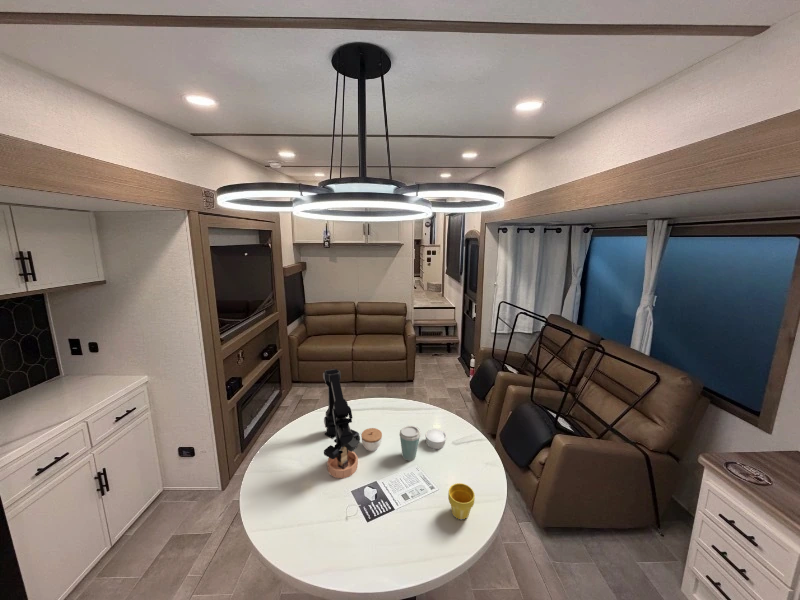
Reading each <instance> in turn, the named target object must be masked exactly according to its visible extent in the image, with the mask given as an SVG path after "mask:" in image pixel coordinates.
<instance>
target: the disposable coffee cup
mask: <svg viewBox="0 0 800 600" xmlns="http://www.w3.org/2000/svg"><path fill="white" fill-rule="evenodd" d="M421 435H422V433H421V431H420V429H419V428H418V427H417V426H415V425H406V426H403V427H401V429H400V430H399V439H400V447H401V455H402V458H403V459H404V460H405V461H407V462H408V461H409V462H410V461H411V462H412V461H414V460H415V459H416V457H417V451H418V447H419V442H420V438H421Z"/></svg>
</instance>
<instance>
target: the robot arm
mask: <svg viewBox="0 0 800 600" xmlns="http://www.w3.org/2000/svg"><path fill="white" fill-rule="evenodd" d="M341 375H342V374H341V371H340V370H338V369H337V368H333V369H331V368H330V369H325V371H323V373H322V378H323V380H324V382H325V385H326V387H327V403H328V408H327V410H326V411H325V416H324V418H323V423H324V427H325V428H326V432H324V435H325V436H327V437H329V438H331V439H333V443H335V445H334V446H333V445H332V444H330V445H329V446H327V447H326V448H325V449H324V450H323V455H324V456H326V457H328V458H331V459H335V458H337V460H338V461H339V462H341V454H342V453H343V451H341V448H342V447H344V446H345V447H346V448H347V454H348V451H350V452H352V451H353V452H354V450H356V449H357V448H358V445H359V444H360V443H361V437H360V433H359V432H358V431H356V430H353V429H351V426H350V423H353V412H352V408H351V407H350V405H349V404H348V401H347V400H346V399H345V398H344V395H343V391H342V385H341V379H342V376H341Z"/></svg>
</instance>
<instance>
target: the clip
mask: <svg viewBox="0 0 800 600" xmlns="http://www.w3.org/2000/svg"><path fill="white" fill-rule="evenodd" d="M337 461H338V460H337ZM347 466H348V460H346V461H345V462H344V463H343V465H342V466H340V465H338V467H340V468H342V469H345V468H346V467H347Z"/></svg>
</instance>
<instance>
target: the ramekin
mask: <svg viewBox="0 0 800 600" xmlns="http://www.w3.org/2000/svg"><path fill="white" fill-rule="evenodd" d="M424 435H425V440H426V444H427V446H428V447H429V448H430V449H433V450H441V449H442V448H444V446H445V445H446V441H447V439H448V438H447V434H446V432H444V431H443V430H441V429H438V428H431V429H428V430H427V431H426V432H425V434H424Z"/></svg>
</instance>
